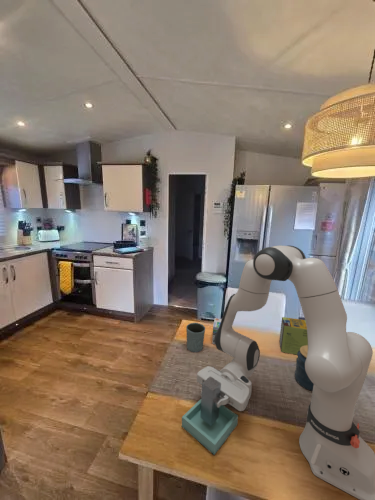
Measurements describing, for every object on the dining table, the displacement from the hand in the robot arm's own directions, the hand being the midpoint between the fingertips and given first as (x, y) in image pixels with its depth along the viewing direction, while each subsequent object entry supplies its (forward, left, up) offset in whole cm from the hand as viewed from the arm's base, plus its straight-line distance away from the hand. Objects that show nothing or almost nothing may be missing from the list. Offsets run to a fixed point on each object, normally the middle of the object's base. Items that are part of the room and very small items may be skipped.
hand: (209, 399), depth 80 cm
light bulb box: (+28, -47, -11) cm, 56 cm away
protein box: (-7, -69, -11) cm, 70 cm away
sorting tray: (0, -1, -11) cm, 11 cm away
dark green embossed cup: (+33, -32, -11) cm, 47 cm away
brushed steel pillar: (0, -1, -8) cm, 8 cm away
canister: (-20, -49, -11) cm, 54 cm away
